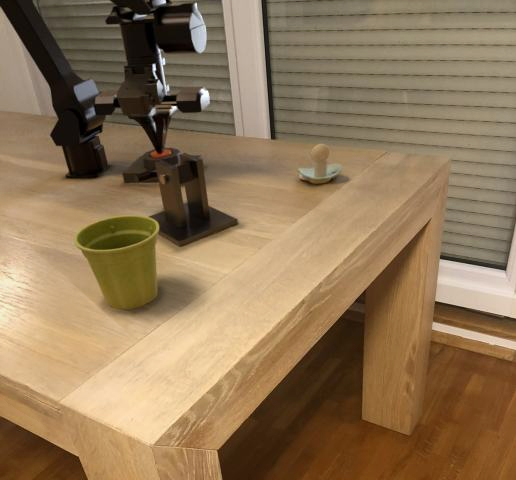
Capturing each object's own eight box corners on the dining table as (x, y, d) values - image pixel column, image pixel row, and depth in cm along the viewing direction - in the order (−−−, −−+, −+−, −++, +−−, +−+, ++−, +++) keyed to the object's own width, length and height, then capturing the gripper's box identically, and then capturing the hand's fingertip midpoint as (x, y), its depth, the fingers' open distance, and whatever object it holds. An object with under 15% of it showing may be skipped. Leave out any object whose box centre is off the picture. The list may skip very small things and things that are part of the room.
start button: (149, 166, 100) (147, 156, 99) (156, 159, 102) (154, 149, 101) (169, 166, 99) (167, 155, 98) (175, 159, 102) (173, 149, 101)
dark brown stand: (141, 226, 85) (127, 161, 79) (197, 206, 89) (187, 143, 84) (180, 249, 78) (167, 180, 72) (238, 226, 82) (231, 159, 76)
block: (124, 185, 100) (119, 162, 97) (142, 167, 107) (138, 146, 105) (189, 185, 97) (185, 162, 95) (203, 167, 104) (200, 145, 102)
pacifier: (293, 177, 97) (302, 188, 92) (291, 139, 93) (300, 149, 88) (334, 171, 98) (345, 182, 93) (334, 134, 94) (345, 142, 89)
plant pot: (99, 282, 72) (81, 218, 67) (173, 274, 72) (161, 210, 67) (87, 323, 64) (66, 255, 59) (170, 314, 64) (156, 245, 59)
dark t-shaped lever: (137, 187, 86) (132, 171, 85) (168, 176, 88) (163, 161, 87) (170, 187, 77) (165, 169, 76) (204, 176, 79) (199, 159, 78)
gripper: (66, 67, 86) (92, 169, 95) (183, 62, 82) (198, 168, 91) (97, 53, 95) (118, 148, 104) (204, 48, 91) (216, 146, 100)
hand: (160, 152), depth 100 cm, fingers closed, pressing on start button
